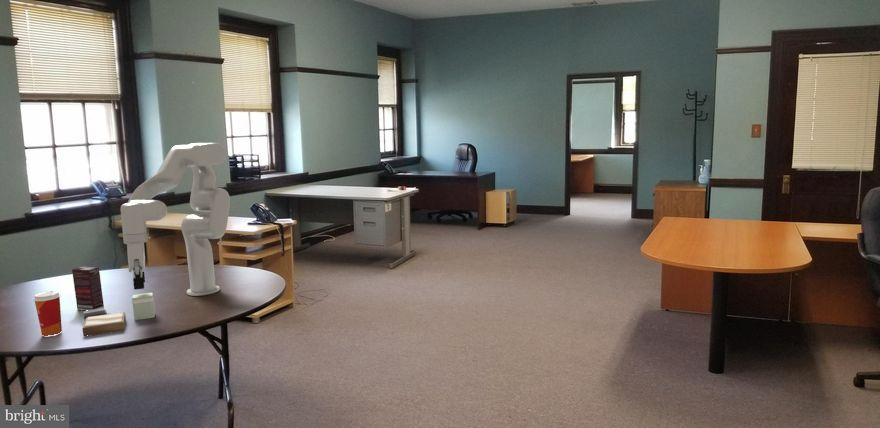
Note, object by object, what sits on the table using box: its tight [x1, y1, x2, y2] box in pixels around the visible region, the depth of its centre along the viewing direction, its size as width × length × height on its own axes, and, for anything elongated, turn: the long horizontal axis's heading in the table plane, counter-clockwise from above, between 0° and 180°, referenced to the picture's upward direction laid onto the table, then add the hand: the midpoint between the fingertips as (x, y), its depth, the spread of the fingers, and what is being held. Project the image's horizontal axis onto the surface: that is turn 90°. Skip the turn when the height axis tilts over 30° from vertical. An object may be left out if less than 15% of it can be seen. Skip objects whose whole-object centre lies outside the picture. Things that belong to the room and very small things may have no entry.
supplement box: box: [71, 265, 105, 311], centre depth 236 cm, size 9×5×16 cm, turn 71°
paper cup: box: [32, 290, 63, 336], centre depth 209 cm, size 8×8×14 cm
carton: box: [131, 292, 156, 321], centre depth 225 cm, size 5×7×8 cm
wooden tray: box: [81, 311, 127, 337], centre depth 215 cm, size 12×12×3 cm
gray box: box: [82, 307, 108, 321], centre depth 223 cm, size 4×7×4 cm, turn 123°
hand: (139, 285), depth 223 cm, fingers open, 9 cm apart
